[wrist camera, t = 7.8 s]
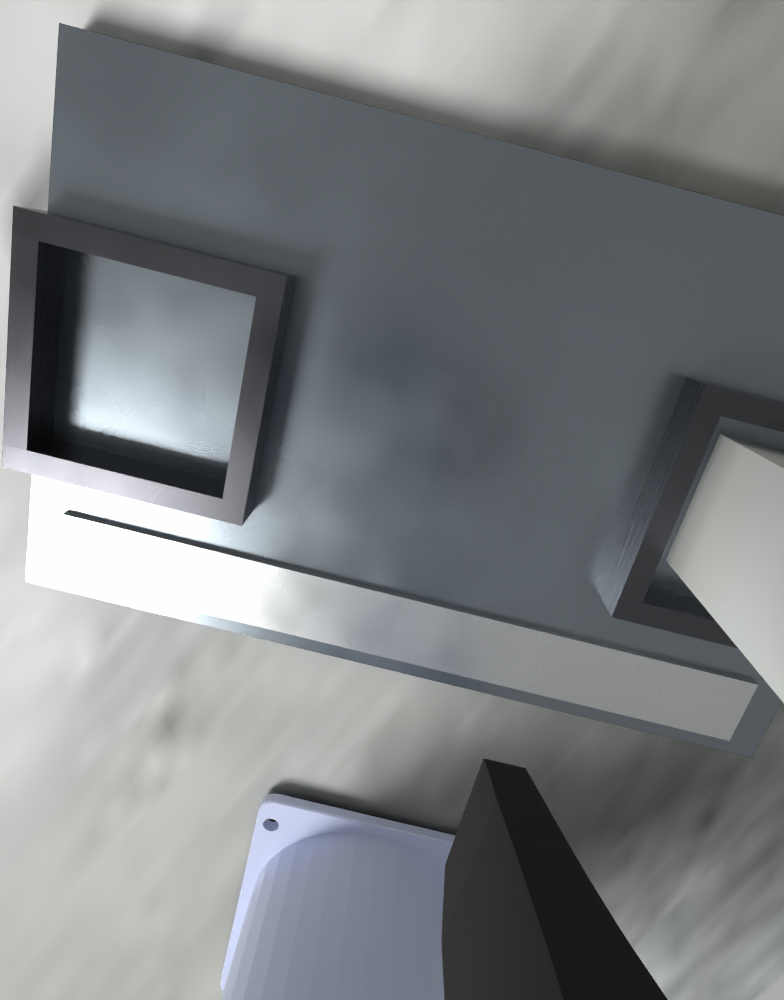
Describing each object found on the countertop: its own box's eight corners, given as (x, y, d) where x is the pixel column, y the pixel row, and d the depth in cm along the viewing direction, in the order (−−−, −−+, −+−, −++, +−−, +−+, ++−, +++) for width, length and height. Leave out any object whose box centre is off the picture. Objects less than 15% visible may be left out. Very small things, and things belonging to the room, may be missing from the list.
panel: (742, 740, 20) (775, 788, 18) (37, 569, 20) (-4, 600, 18) (984, 276, 16) (1060, 276, 14) (73, 33, 15) (22, 0, 13)
